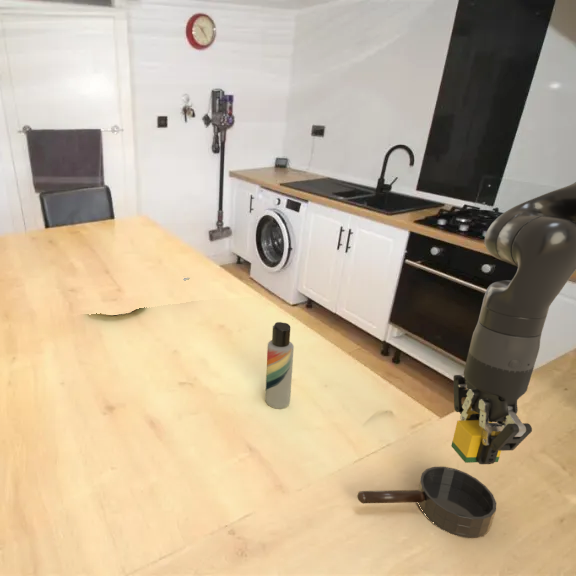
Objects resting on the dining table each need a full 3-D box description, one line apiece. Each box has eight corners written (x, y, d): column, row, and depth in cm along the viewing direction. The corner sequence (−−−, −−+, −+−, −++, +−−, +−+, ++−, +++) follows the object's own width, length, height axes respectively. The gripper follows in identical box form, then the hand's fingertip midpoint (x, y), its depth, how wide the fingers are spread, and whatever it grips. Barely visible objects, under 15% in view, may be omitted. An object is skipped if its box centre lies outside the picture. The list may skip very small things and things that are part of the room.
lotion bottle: (274, 391, 100) (278, 317, 93) (294, 401, 96) (300, 324, 89) (260, 402, 96) (263, 325, 89) (280, 412, 92) (285, 333, 85)
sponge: (482, 445, 65) (489, 419, 64) (498, 462, 62) (506, 435, 60) (450, 446, 65) (457, 420, 64) (464, 462, 62) (472, 436, 60)
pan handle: (420, 495, 68) (422, 487, 67) (426, 504, 66) (428, 496, 65) (354, 496, 68) (356, 488, 67) (359, 506, 66) (360, 497, 65)
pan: (464, 483, 72) (468, 465, 71) (506, 537, 63) (512, 518, 61) (405, 484, 72) (408, 467, 71) (438, 538, 63) (443, 519, 61)
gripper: (571, 382, 51) (534, 488, 57) (493, 332, 64) (470, 422, 70) (511, 383, 51) (480, 489, 57) (445, 333, 64) (426, 423, 70)
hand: (474, 451), depth 64 cm, fingers closed on sponge, 3 cm apart
